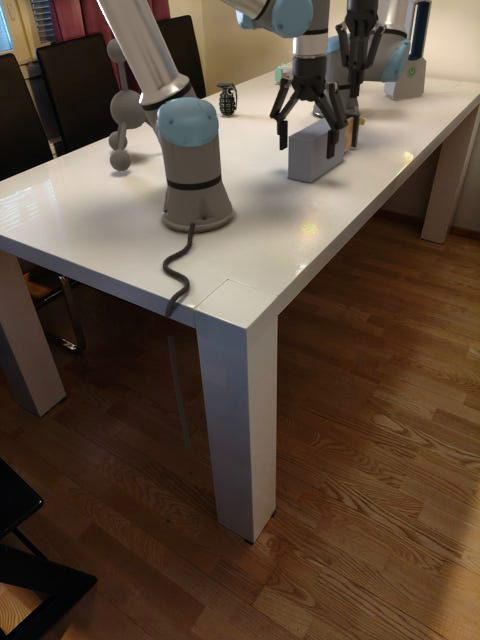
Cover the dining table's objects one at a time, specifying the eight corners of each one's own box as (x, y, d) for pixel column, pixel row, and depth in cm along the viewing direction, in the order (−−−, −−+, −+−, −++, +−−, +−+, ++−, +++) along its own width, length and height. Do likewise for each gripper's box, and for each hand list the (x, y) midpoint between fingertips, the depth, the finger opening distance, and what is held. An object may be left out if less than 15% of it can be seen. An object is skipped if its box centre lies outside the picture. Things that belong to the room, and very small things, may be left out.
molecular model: (194, 162, 134) (180, 38, 116) (114, 177, 128) (87, 49, 110) (171, 138, 152) (156, 27, 133) (100, 151, 146) (75, 36, 127)
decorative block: (298, 54, 217) (338, 57, 207) (297, 70, 220) (337, 74, 211) (266, 66, 200) (309, 70, 191) (266, 83, 204) (308, 87, 195)
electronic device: (392, 100, 174) (405, 0, 156) (382, 95, 180) (394, -2, 162) (423, 96, 177) (440, -3, 158) (412, 91, 182) (427, -5, 164)
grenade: (217, 117, 168) (214, 86, 162) (221, 112, 172) (219, 82, 166) (235, 117, 166) (233, 86, 160) (239, 113, 171) (238, 82, 165)
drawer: (348, 138, 142) (351, 107, 137) (365, 140, 140) (368, 109, 134) (311, 161, 128) (312, 128, 123) (328, 165, 126) (331, 131, 121)
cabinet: (321, 156, 134) (323, 117, 127) (343, 160, 130) (346, 120, 124) (287, 178, 123) (288, 136, 116) (310, 183, 119) (312, 140, 113)
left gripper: (369, 55, 103) (359, 156, 116) (271, 48, 115) (272, 140, 128) (354, 62, 98) (345, 166, 111) (253, 54, 110) (256, 149, 123)
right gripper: (396, -11, 115) (383, 96, 130) (345, -11, 121) (338, 91, 136) (383, -8, 110) (371, 103, 125) (331, -8, 117) (325, 97, 131)
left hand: (306, 153), depth 119 cm, fingers open, 12 cm apart
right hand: (354, 96), depth 130 cm, fingers closed
